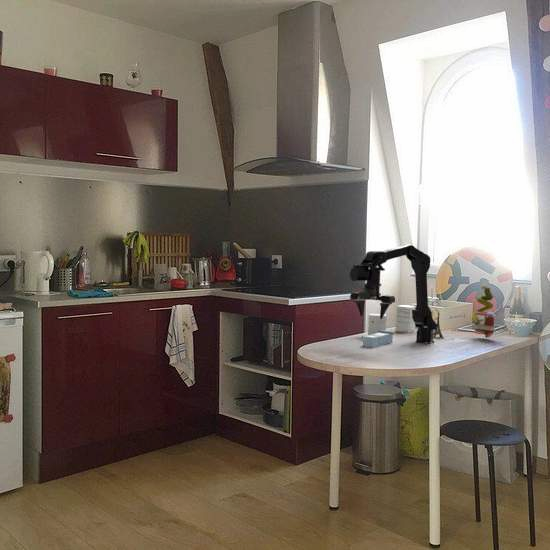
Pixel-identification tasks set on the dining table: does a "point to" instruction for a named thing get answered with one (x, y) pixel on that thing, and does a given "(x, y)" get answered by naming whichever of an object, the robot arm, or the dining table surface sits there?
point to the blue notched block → (384, 336)
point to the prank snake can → (484, 314)
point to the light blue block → (371, 341)
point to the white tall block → (405, 318)
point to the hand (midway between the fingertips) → (371, 317)
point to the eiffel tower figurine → (438, 332)
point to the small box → (376, 323)
